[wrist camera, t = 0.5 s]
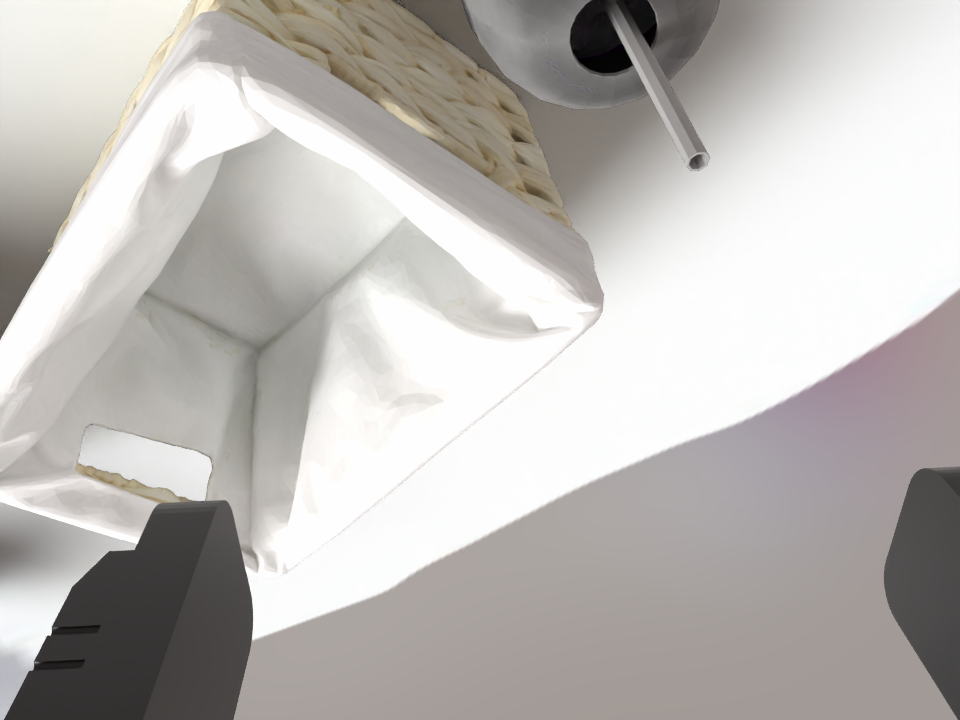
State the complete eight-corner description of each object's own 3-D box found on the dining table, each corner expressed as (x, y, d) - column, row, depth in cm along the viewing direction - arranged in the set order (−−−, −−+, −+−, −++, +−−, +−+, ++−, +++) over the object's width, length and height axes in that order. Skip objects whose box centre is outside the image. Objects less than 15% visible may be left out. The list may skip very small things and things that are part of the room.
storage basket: (259, -158, 30) (184, 33, 20) (574, 94, 38) (633, 319, 28) (29, 248, 43) (-86, 488, 33) (301, 372, 51) (275, 593, 41)
